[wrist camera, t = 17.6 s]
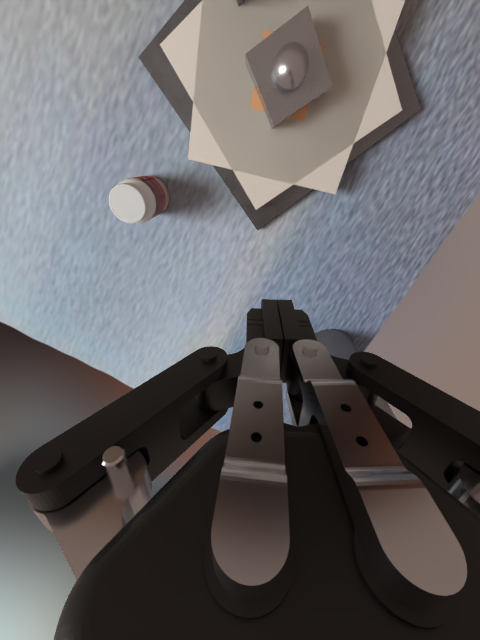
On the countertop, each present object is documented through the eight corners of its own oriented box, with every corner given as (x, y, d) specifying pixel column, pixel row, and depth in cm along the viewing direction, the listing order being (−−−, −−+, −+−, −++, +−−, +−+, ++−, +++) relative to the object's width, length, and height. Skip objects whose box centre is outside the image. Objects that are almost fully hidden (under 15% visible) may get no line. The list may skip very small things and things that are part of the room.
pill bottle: (153, 167, 34) (127, 169, 27) (176, 201, 36) (158, 211, 29) (126, 189, 36) (95, 196, 28) (150, 220, 38) (127, 235, 30)
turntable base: (416, 110, 30) (420, 109, 29) (257, 228, 38) (257, 230, 37) (325, -163, 22) (328, -177, 21) (141, 60, 29) (138, 57, 28)
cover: (302, 21, 25) (311, -5, 21) (324, 93, 27) (336, 83, 24) (245, 64, 26) (244, 47, 23) (271, 128, 29) (275, 123, 25)
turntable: (439, 124, 30) (478, 116, 24) (246, 247, 37) (246, 261, 32) (355, -241, 19) (394, -390, 14) (112, 36, 27) (79, 6, 22)
